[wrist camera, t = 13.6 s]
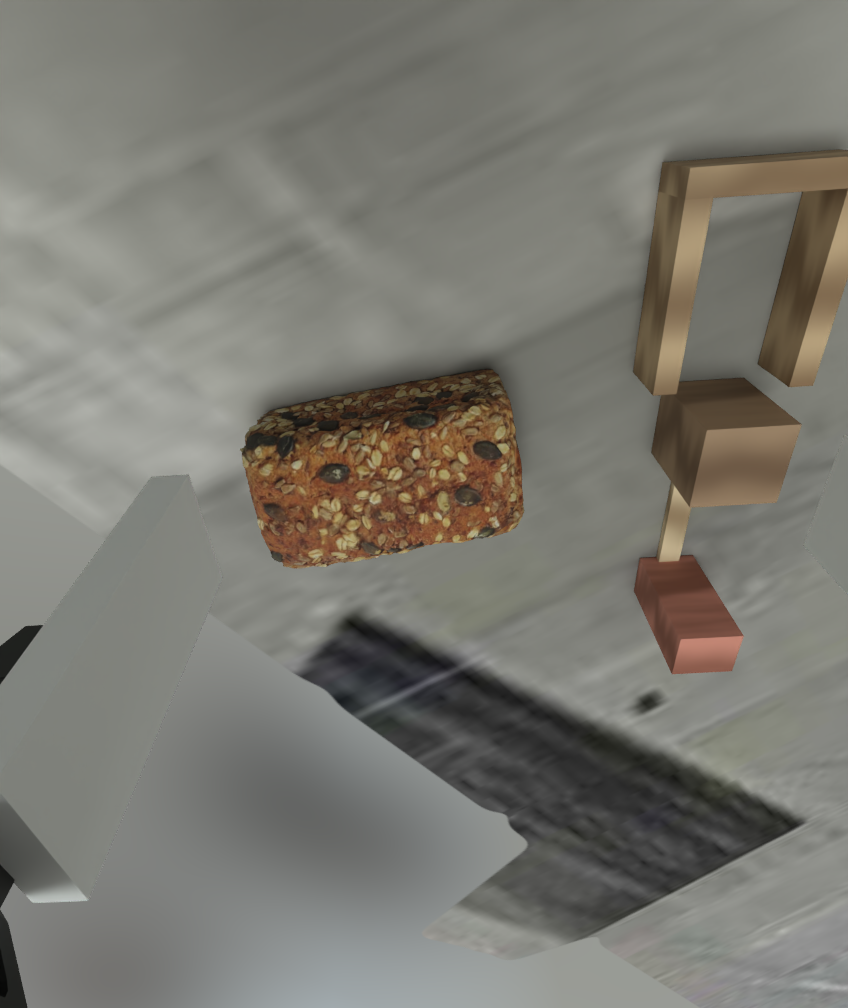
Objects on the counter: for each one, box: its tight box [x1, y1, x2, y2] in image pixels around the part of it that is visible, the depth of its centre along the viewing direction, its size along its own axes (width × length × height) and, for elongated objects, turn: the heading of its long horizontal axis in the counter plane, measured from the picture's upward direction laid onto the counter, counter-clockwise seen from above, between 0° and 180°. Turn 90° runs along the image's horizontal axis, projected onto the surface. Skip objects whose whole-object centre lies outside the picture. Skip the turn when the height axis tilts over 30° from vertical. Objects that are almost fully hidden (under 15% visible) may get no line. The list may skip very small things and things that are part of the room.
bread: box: [240, 369, 524, 568], centre depth 43 cm, size 19×11×10 cm, turn 100°
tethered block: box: [634, 378, 802, 674], centre depth 46 cm, size 21×6×10 cm, turn 4°
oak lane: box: [633, 150, 848, 396], centre depth 38 cm, size 14×11×4 cm
